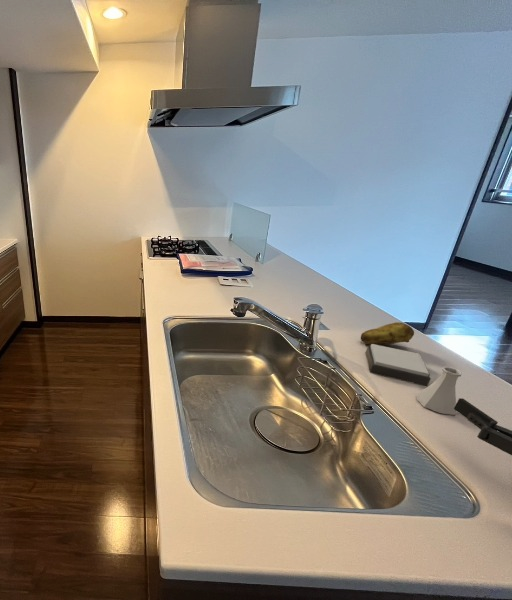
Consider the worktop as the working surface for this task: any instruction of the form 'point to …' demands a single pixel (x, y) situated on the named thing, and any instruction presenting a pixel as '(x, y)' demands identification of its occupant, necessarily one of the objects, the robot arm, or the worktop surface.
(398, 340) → the potato
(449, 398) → the flask
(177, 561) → the worktop surface
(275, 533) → the worktop surface
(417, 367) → the scale
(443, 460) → the worktop surface
